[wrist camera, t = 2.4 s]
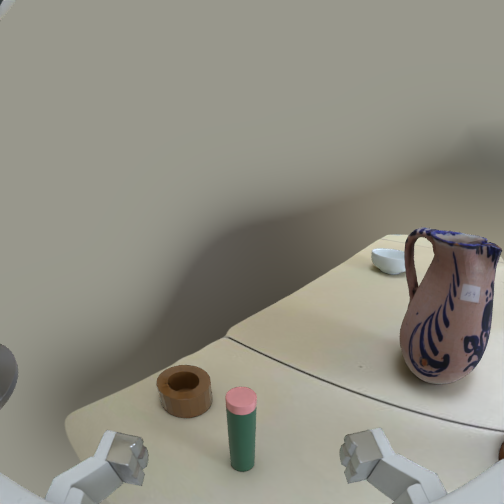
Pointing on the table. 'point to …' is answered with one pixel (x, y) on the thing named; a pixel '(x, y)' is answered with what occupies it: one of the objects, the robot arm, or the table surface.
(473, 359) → the ceramic pitcher
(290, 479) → the table surface
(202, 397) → the brown hollow cylinder
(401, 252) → the cereal bowl
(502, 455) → the food container
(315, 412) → the table surface
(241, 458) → the pink-capped green cylinder
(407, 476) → the robot arm
